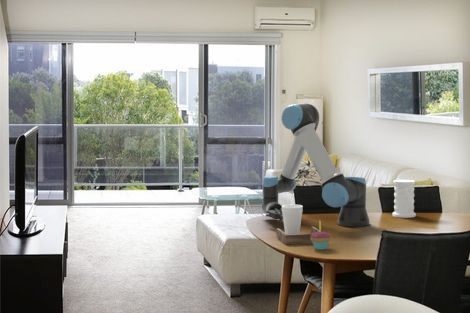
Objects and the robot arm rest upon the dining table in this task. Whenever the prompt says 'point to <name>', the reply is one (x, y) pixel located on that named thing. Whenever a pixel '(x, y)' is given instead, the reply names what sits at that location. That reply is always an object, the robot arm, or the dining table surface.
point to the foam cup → (292, 218)
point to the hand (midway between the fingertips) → (287, 218)
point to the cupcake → (320, 239)
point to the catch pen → (295, 237)
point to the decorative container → (404, 198)
